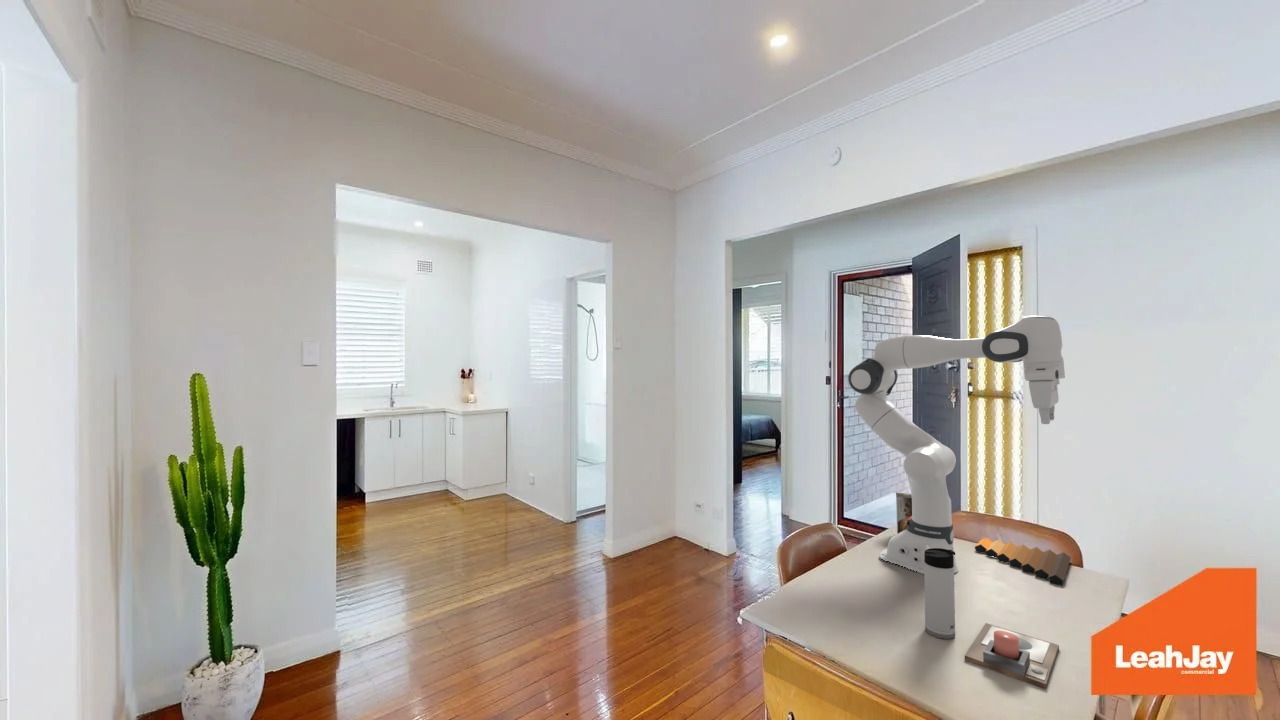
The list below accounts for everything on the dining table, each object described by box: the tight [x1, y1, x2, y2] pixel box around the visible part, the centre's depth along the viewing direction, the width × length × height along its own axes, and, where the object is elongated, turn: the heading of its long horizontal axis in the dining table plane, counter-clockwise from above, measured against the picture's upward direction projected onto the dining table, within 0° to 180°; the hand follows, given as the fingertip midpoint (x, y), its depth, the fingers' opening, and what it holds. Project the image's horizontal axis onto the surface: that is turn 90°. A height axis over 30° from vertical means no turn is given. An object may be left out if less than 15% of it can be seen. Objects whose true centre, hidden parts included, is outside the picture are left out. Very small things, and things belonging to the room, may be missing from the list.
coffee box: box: [895, 492, 912, 535], centre depth 189 cm, size 9×6×16 cm
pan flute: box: [974, 536, 1072, 586], centre depth 164 cm, size 25×3×25 cm
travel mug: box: [923, 548, 956, 640], centre depth 121 cm, size 6×7×20 cm
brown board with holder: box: [964, 622, 1060, 690], centre depth 112 cm, size 14×20×3 cm
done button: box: [994, 631, 1019, 660], centre depth 107 cm, size 4×4×4 cm
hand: (1048, 422), depth 139 cm, fingers open, 8 cm apart
